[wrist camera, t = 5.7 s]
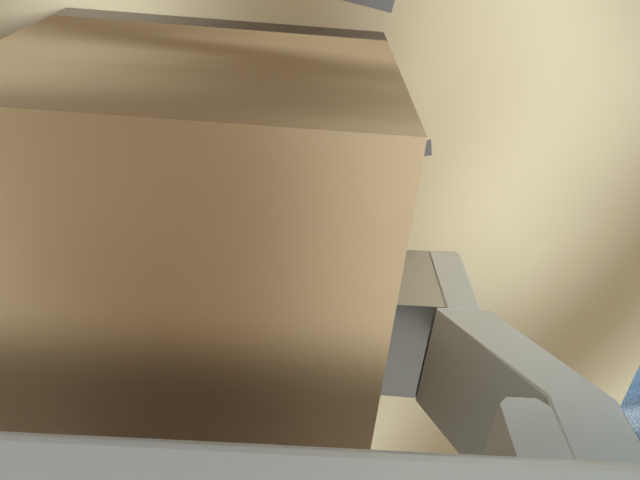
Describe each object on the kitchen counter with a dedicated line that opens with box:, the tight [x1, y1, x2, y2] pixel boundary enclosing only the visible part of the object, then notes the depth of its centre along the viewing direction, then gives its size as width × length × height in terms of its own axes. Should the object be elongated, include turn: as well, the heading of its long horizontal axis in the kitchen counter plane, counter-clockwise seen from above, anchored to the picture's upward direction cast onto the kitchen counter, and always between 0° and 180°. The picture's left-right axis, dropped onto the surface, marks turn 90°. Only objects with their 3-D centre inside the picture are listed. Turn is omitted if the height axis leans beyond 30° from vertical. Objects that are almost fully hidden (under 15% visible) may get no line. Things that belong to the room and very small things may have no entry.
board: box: [0, 0, 640, 454], centre depth 12 cm, size 18×18×1 cm
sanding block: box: [0, 8, 427, 449], centre depth 9 cm, size 5×8×4 cm, turn 176°
